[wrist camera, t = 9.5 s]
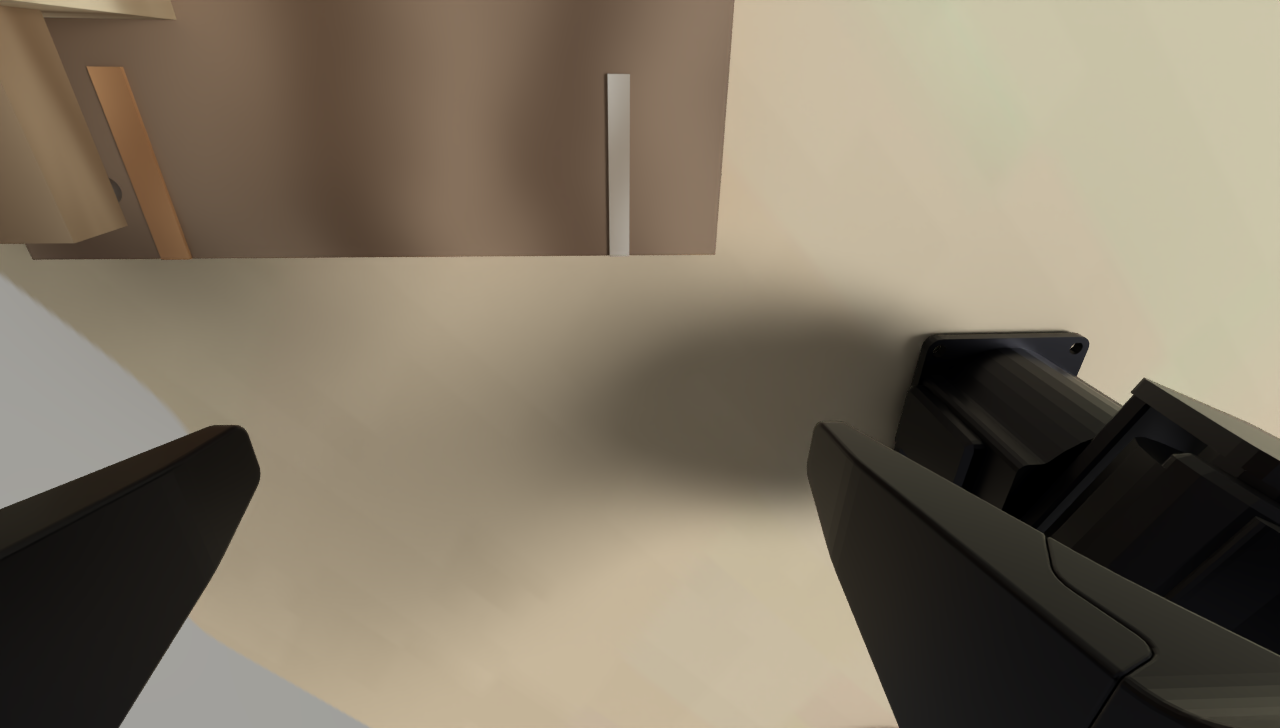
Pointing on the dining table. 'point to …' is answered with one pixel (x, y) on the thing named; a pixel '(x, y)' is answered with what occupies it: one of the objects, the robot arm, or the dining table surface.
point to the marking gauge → (53, 128)
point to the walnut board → (405, 127)
